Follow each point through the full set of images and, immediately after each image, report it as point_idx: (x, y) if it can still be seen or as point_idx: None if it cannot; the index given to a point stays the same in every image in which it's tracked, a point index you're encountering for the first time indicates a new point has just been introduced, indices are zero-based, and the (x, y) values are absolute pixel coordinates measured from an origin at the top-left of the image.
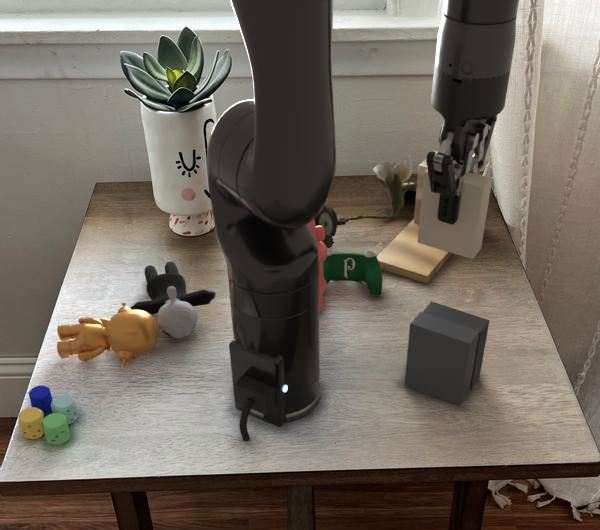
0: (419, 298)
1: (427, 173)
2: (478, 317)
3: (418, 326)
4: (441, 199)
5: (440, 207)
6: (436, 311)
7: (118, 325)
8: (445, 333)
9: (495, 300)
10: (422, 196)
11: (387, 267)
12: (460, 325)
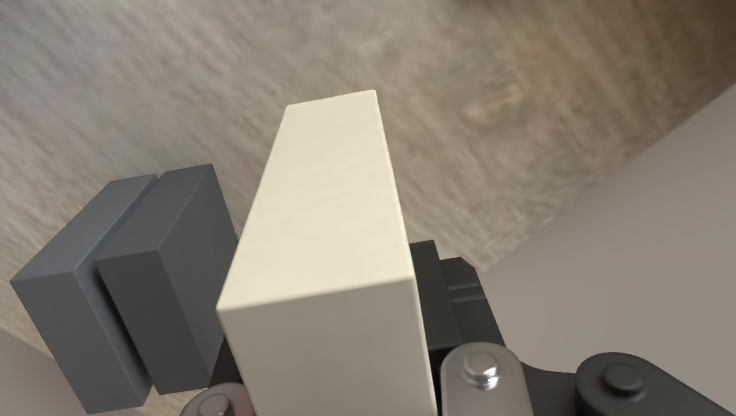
0: (403, 2)
1: (224, 329)
2: (202, 365)
3: (22, 302)
4: (213, 382)
5: (225, 343)
6: (131, 285)
7: None
8: (63, 362)
9: (513, 161)
10: (254, 204)
11: None
12: (121, 369)
